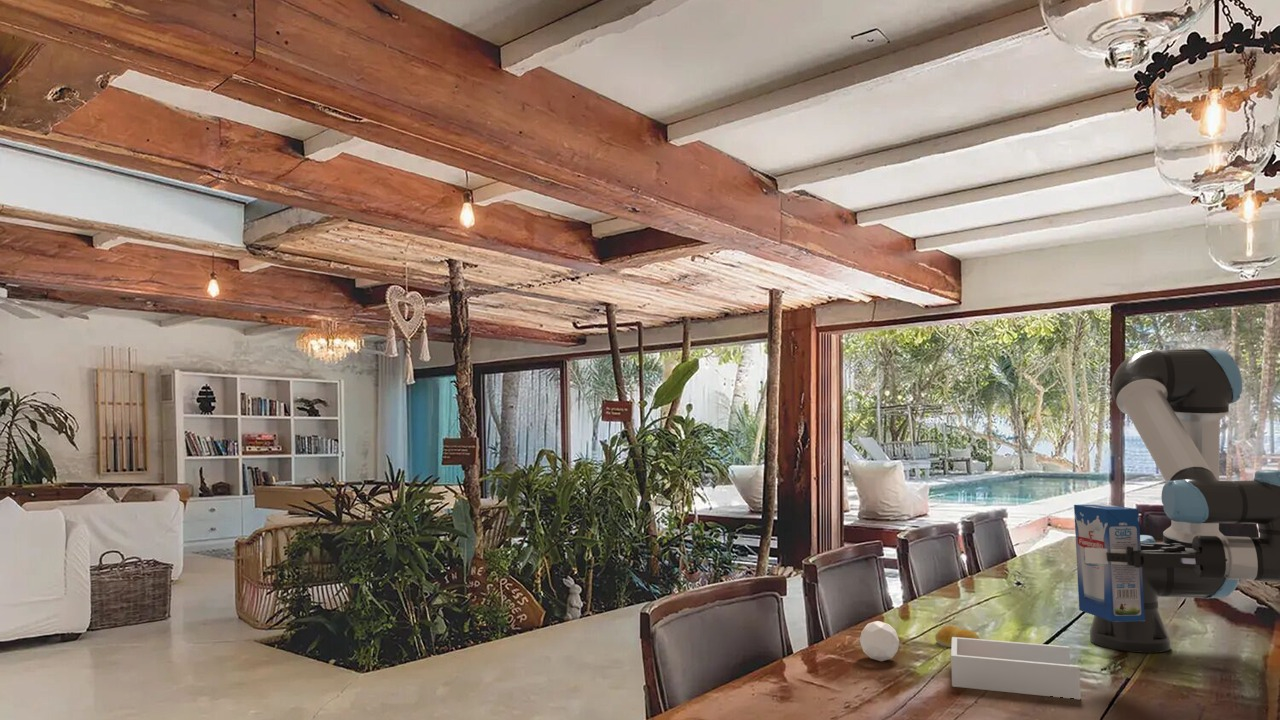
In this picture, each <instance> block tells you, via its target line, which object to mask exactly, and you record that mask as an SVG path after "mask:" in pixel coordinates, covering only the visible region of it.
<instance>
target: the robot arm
mask: <svg viewBox="0 0 1280 720" xmlns="http://www.w3.org/2000/svg"><path fill="white" fill-rule="evenodd" d="M1111 381H1112V382H1111V395H1112V398H1113V400H1114V402H1115V405H1116V406H1117V408H1118V409H1119V411H1120V412H1121V413H1123V414H1124V415H1127V416H1128V417H1129V419H1130V420H1131V422H1132V424H1133V425H1134V428H1135V430H1136V431H1137V433H1138V435H1139V437H1140V438H1141V440H1142V442H1143V444H1144V445H1145V447H1146V448H1147V451H1148V453H1149V454H1150V456H1151V458H1152V460H1153V461H1154V463H1155V465H1156V467H1157V469H1158V470H1159V472H1160V474H1161V476H1162V478H1163V479H1164V481H1165V484H1164V485H1163V486H1162V488H1161V496H1160V498H1161V504H1162V506H1163V511H1164V513H1165V515H1166V516H1167V517H1168V518H1169V519H1170V521H1171V525H1170V526H1169V527H1167V528H1166V529H1165V530H1164V531H1163V532H1162V541H1161V542H1160V541H1159V542H1156V540H1155V538H1154V537H1153V536H1152V535H1147V534H1140V543H1141V550H1138V551H1133V547H1127V553H1126V549H1111V553H1107V549H1105V548H1086V547H1085V561H1086V563H1097V564H1108V561H1111V564H1117V565H1127V562H1128V565H1130V566H1134V567H1137V568H1140V567H1142V578H1143V596H1144V614H1145V621H1122V622H1111V621H1109V620H1106V619H1103V618H1100V617H1097V616H1095V615H1093V619H1092V623H1091V625H1090V629H1089V640H1090V641H1091V643H1093V644H1096V645H1098V646H1100V647H1103V648H1108V649H1112V650H1118V651H1123V652H1124V651H1126V652H1131V653H1132V652H1134V653H1144V654H1145V653H1148V654H1149V653H1151V654H1153V653H1154V654H1155V653H1164V652H1168V651H1170V650H1171V639H1170V636H1169V634H1168V631H1167V629H1166V626H1165V624H1164V621H1163V618H1162V616H1161V614H1160V611H1159V598H1160V597H1163V598H1164V597H1165V598H1187V599H1188V598H1192V599H1195V598H1196V599H1202V600H1209V599H1223V598H1227V597H1229V596H1230V595H1231V594H1233V592H1234V591H1235V590H1236V589H1237V587H1238V584H1239V583H1240V584H1245V583H1246V581H1247V580H1248V581H1258V582H1272V583H1280V469H1279V470H1277V469H1260V470H1256V471H1255V472H1254V478H1253V479H1252V480H1220V448H1221V447H1220V440H1221V439H1220V438H1221V437H1220V435H1221V434H1220V433H1221V432H1220V430H1221V428H1220V427H1221V420H1222V419H1223V418H1224V417H1226V416H1227V415H1228V414H1229V413H1230V411H1229V409H1230V406H1229V405H1230V404H1234V403H1236V402H1238V401H1239V400H1240V398H1241V394H1242V393H1243V378H1242V374H1241V371H1240V368H1239V366H1238V363H1237V362H1236V361H1235V359H1234V357H1233V356H1232V355H1231V354H1230V353H1229V352H1227V351H1226V350H1222V349H1216V348H1215V349H1213V348H1203V347H1201V348H1181V349H1177V348H1176V349H1146V350H1143V351H1139V352H1136V353H1134V354H1131V355H1130V356H1129V357H1127V358H1126V359H1125V360H1123V361H1122V362H1121V363H1120V365H1119V366H1118V367H1117V369H1116V370H1115V373H1114V375H1113V377H1112V380H1111ZM1220 524H1242V525H1243V524H1246V525H1257V527H1258V528H1257V529H1258V530H1257V531H1258V533H1259V536H1258V537H1249V536H1229V535H1224V533H1222V532H1221V531H1220V529H1219V528H1220Z"/></svg>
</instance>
